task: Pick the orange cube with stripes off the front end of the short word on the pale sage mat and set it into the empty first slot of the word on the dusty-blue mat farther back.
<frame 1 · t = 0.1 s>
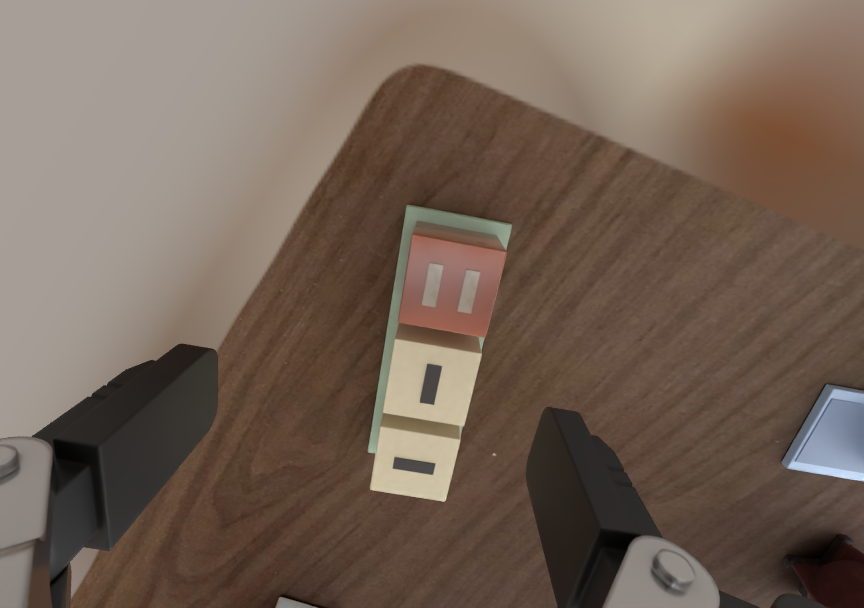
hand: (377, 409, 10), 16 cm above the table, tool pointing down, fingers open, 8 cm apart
orange cube with stripes: (449, 266, 25), point 1 cm above the table, touching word
mate gourd: (814, 565, 33), on the table
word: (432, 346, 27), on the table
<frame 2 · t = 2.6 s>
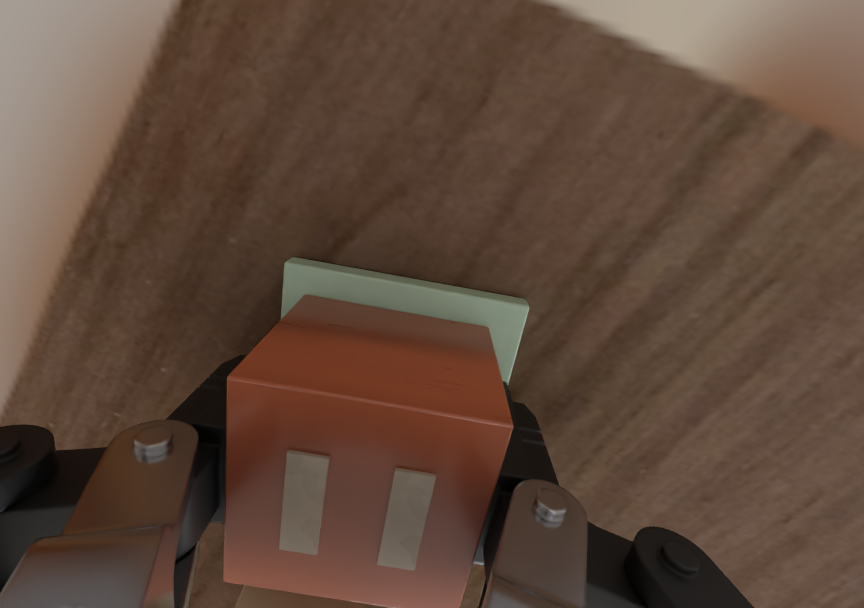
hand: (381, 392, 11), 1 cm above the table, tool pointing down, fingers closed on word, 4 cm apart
orange cube with stripes: (384, 390, 11), point 1 cm above the table, touching gripper, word
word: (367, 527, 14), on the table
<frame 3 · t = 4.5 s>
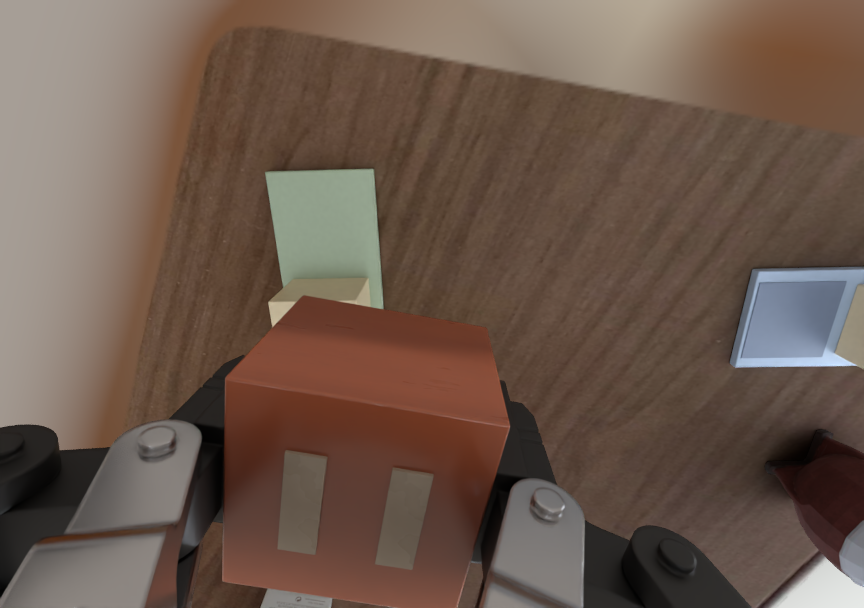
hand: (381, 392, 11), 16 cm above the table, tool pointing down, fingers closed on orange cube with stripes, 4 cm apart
orange cube with stripes: (382, 390, 11), point 15 cm above the table, touching gripper
mate gourd: (802, 468, 31), on the table
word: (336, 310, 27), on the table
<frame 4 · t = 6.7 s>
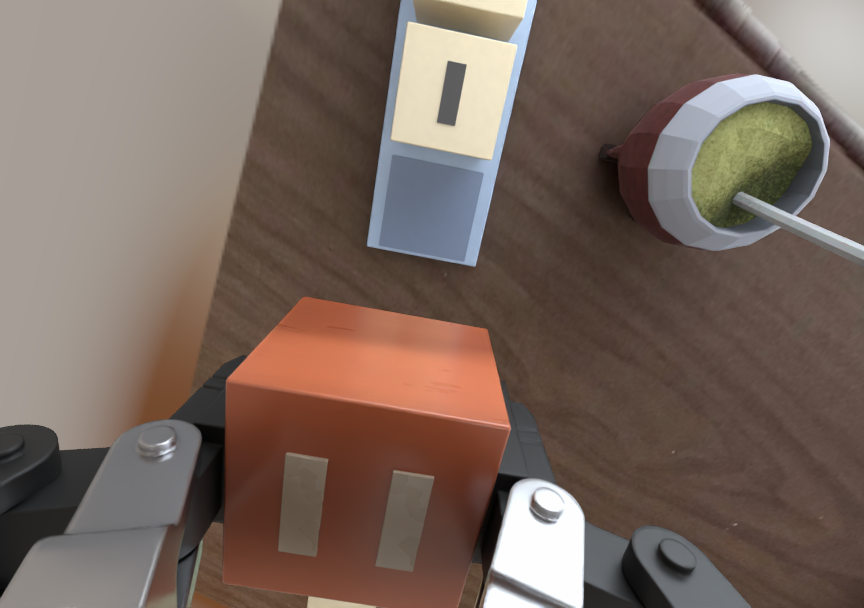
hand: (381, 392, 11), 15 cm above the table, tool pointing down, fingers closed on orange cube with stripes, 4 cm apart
orange cube with stripes: (383, 391, 11), point 15 cm above the table, touching gripper
mate gourd: (659, 168, 24), on the table
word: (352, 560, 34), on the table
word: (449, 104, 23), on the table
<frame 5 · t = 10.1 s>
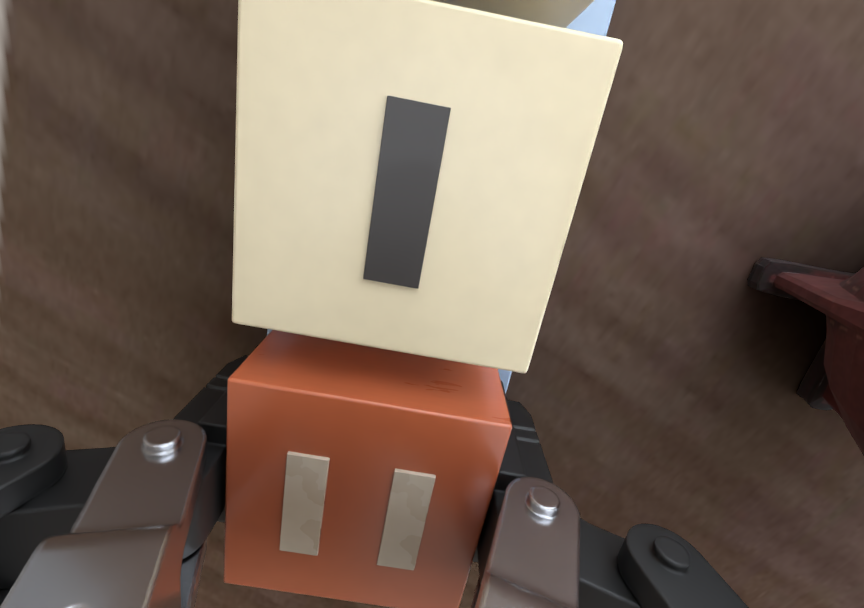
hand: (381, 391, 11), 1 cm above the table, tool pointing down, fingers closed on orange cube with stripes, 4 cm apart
orange cube with stripes: (383, 391, 11), point 1 cm above the table, touching gripper
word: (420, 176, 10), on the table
when the fingers open (1 cm above the table, at t = 10.4 s): orange cube with stripes stays where it is, resting on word.
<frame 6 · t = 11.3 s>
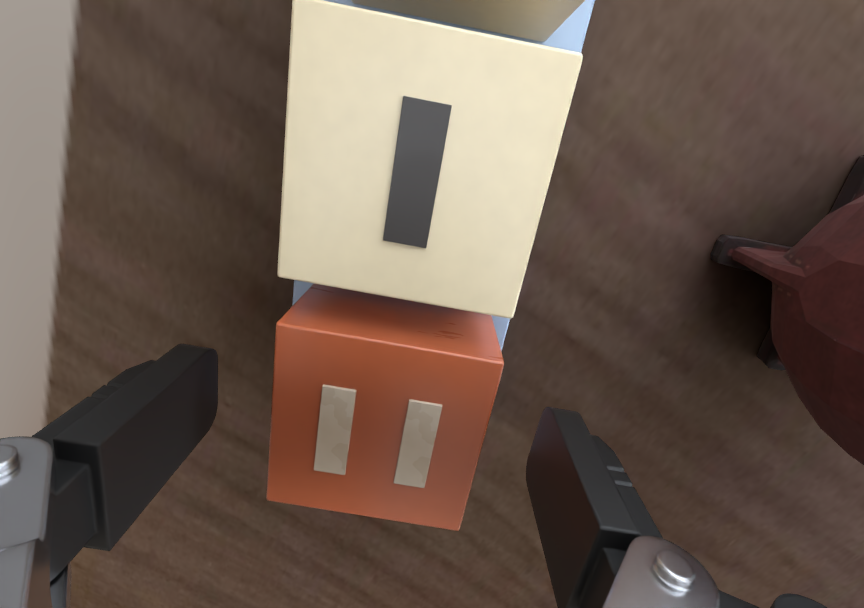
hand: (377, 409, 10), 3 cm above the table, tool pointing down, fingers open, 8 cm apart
orange cube with stripes: (395, 352, 13), point 1 cm above the table, touching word
mate gourd: (820, 275, 13), on the table
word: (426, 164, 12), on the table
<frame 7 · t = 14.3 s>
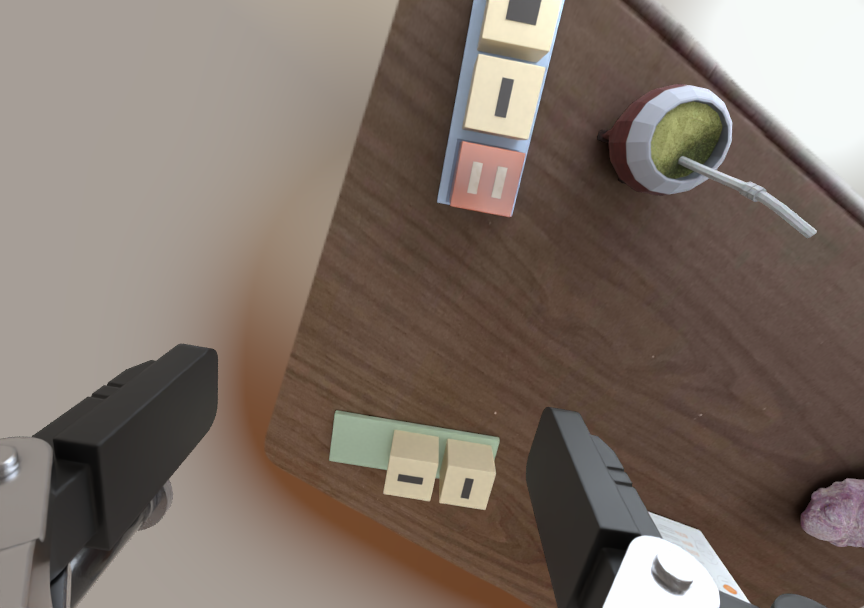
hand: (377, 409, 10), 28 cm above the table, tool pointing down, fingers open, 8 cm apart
orange cube with stripes: (482, 176, 35), point 1 cm above the table, touching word
mate gourd: (638, 146, 35), on the table
small box: (655, 533, 49), on the table
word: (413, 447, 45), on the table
fossil: (859, 492, 46), on the table
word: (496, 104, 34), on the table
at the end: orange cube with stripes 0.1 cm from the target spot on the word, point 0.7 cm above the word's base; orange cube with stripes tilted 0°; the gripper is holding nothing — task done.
